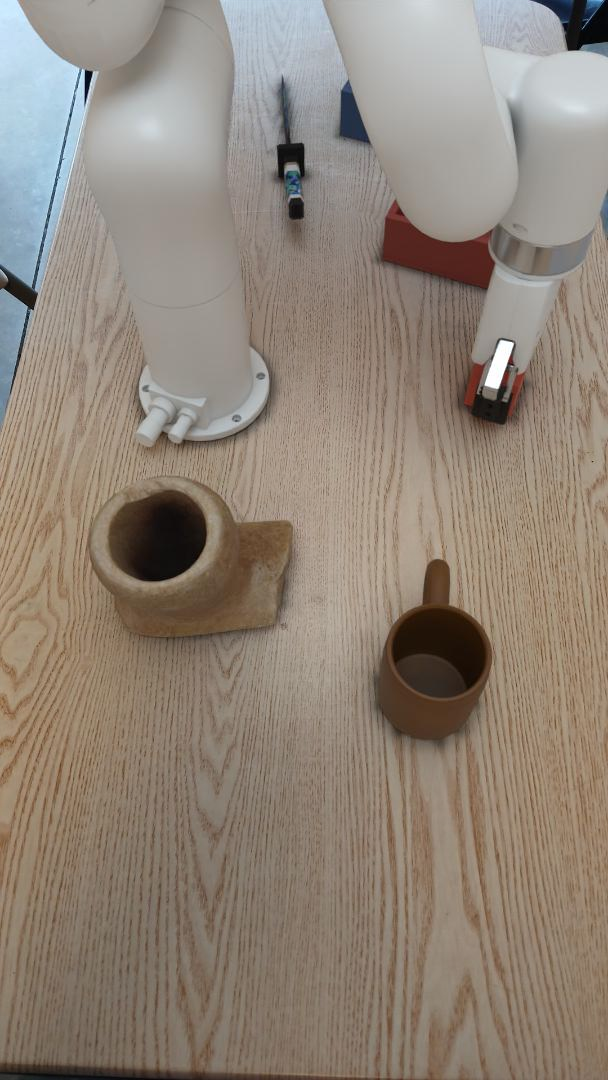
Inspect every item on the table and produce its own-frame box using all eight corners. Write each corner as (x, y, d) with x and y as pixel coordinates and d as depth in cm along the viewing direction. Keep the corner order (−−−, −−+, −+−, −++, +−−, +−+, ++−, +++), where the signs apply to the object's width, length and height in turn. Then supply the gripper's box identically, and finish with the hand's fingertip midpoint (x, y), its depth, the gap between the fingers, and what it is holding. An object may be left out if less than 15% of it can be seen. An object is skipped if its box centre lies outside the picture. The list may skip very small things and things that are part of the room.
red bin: (495, 291, 87) (505, 248, 82) (381, 259, 89) (385, 216, 84) (530, 209, 93) (541, 164, 88) (422, 181, 95) (428, 137, 90)
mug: (381, 597, 70) (389, 542, 61) (472, 604, 69) (492, 550, 61) (373, 738, 64) (381, 698, 56) (473, 747, 63) (496, 708, 55)
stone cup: (113, 670, 67) (62, 588, 54) (120, 541, 73) (76, 440, 60) (300, 658, 67) (295, 574, 54) (293, 531, 73) (286, 427, 60)
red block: (509, 418, 79) (519, 387, 75) (463, 404, 79) (471, 372, 76) (522, 383, 81) (532, 352, 77) (477, 370, 81) (485, 338, 78)
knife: (305, 241, 89) (305, 203, 85) (277, 241, 89) (275, 203, 85) (303, 97, 107) (302, 60, 103) (279, 97, 107) (278, 61, 103)
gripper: (523, 152, 68) (491, 306, 83) (458, 297, 60) (435, 437, 75) (615, 172, 66) (565, 326, 81) (560, 324, 59) (516, 462, 74)
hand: (503, 379), depth 78 cm, fingers open, 9 cm apart
